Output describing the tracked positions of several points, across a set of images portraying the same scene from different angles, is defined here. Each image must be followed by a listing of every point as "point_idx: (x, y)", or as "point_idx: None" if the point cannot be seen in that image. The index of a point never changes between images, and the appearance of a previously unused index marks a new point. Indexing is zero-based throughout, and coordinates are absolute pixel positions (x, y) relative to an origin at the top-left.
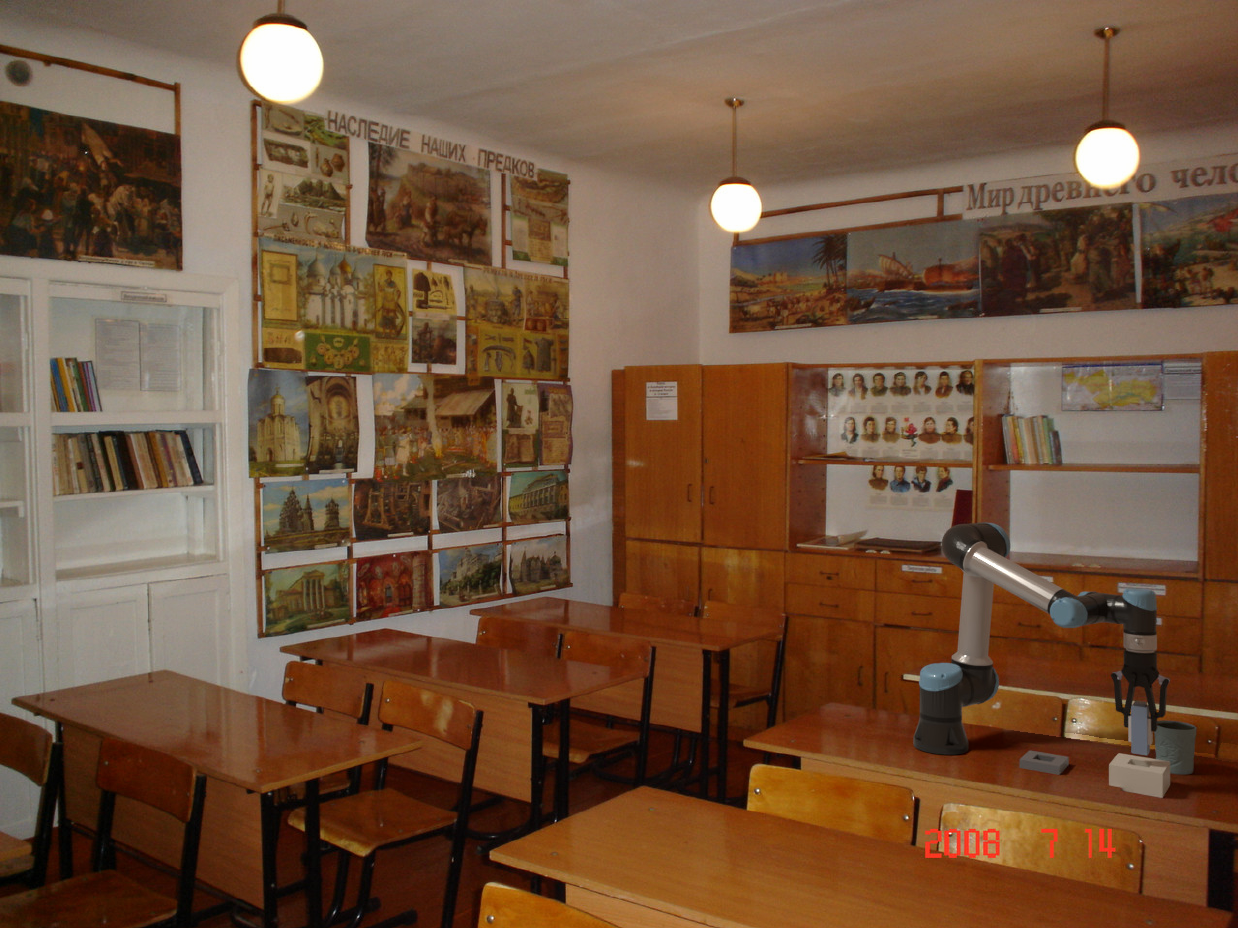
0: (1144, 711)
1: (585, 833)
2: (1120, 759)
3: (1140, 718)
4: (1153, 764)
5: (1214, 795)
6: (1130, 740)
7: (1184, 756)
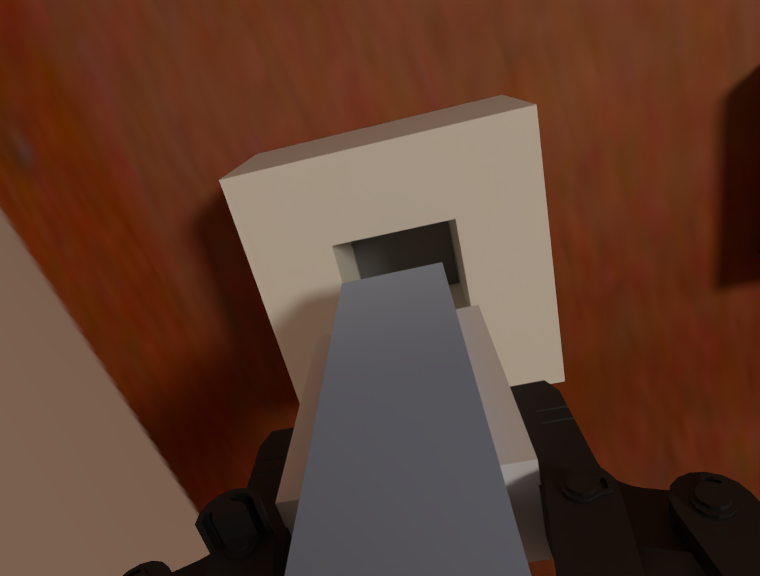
0: (323, 560)
1: None
2: (515, 273)
3: (380, 460)
4: None
5: (149, 358)
6: (464, 312)
7: None
